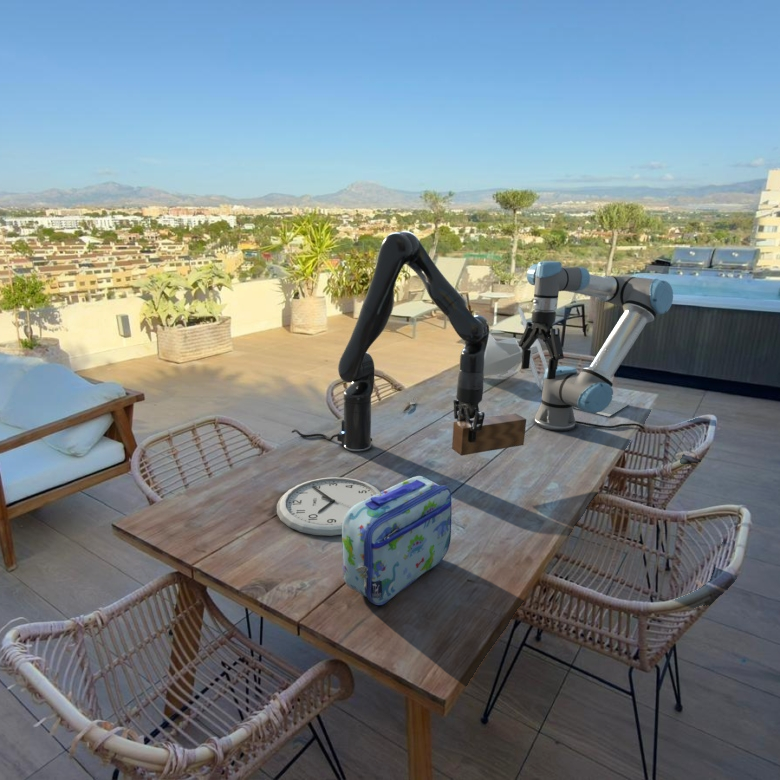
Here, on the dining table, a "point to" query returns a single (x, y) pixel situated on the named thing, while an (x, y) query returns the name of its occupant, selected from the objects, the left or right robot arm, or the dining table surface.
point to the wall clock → (322, 504)
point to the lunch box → (395, 537)
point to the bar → (490, 434)
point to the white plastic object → (510, 355)
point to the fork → (411, 403)
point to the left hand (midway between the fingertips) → (466, 437)
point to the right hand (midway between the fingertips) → (537, 373)
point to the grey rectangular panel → (611, 408)
